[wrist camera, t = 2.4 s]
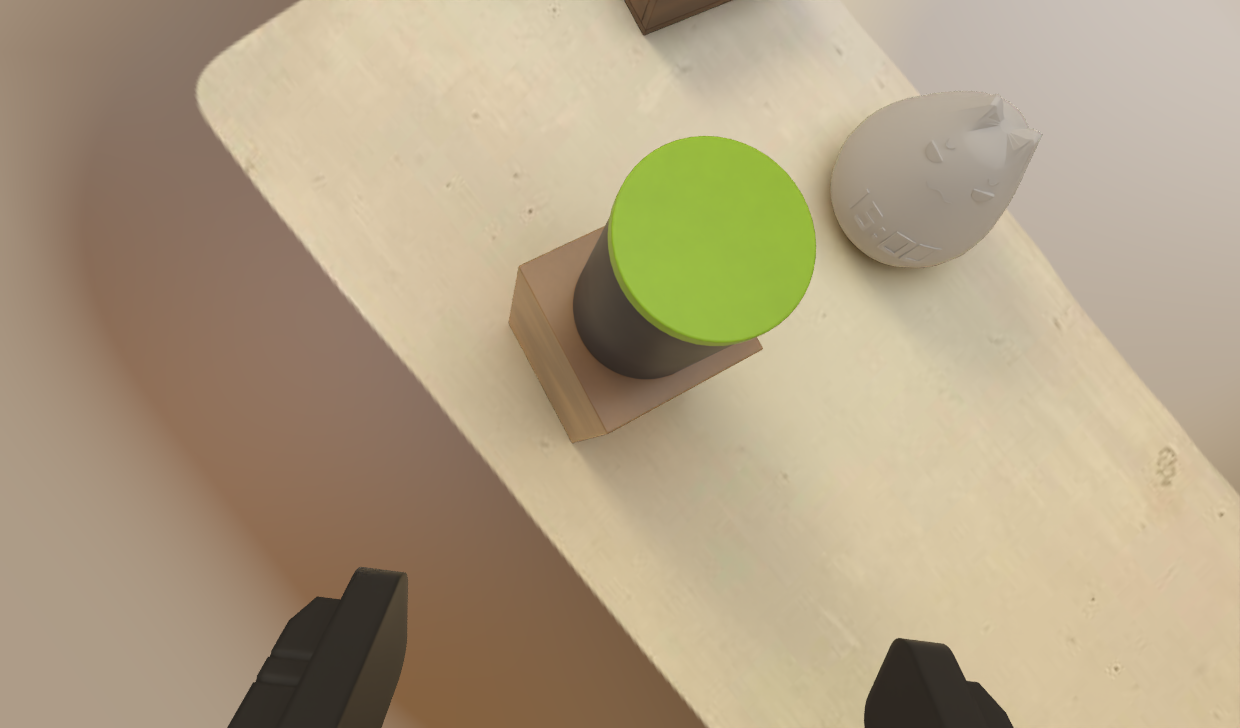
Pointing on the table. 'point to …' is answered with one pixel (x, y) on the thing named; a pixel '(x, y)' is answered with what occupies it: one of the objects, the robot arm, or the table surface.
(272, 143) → the table surface
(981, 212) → the toy character
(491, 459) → the table surface
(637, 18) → the bin
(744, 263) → the ball tube
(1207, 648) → the table surface
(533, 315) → the stand
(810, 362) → the table surface
